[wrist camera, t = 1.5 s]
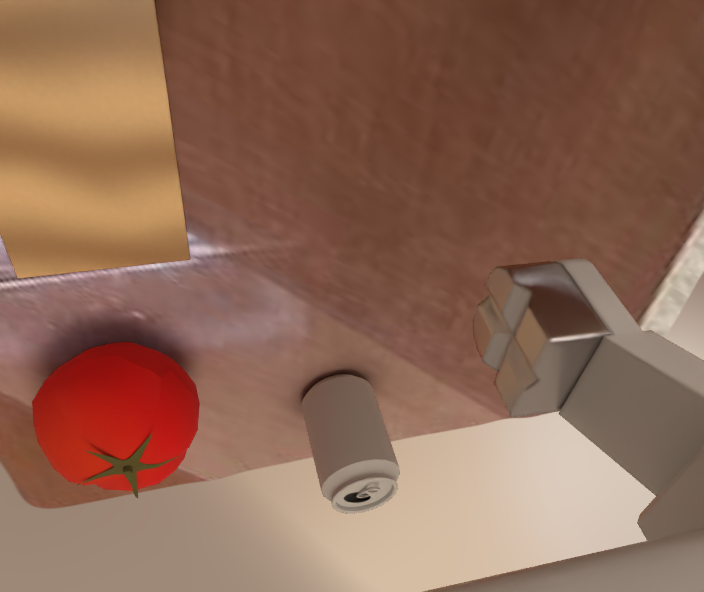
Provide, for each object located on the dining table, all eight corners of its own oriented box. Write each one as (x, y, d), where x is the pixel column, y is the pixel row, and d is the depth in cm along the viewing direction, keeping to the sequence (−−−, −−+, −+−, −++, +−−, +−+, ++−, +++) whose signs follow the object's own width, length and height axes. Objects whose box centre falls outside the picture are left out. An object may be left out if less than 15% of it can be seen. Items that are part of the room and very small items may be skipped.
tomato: (210, 391, 62) (223, 492, 55) (80, 426, 60) (75, 534, 53) (166, 298, 52) (174, 407, 45) (9, 337, 51) (-8, 455, 44)
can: (285, 406, 66) (309, 515, 58) (328, 361, 63) (359, 471, 55) (342, 419, 71) (371, 522, 63) (384, 378, 67) (421, 482, 59)
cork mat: (-99, -17, 32) (-101, -14, 32) (151, -21, 35) (152, -18, 35) (18, 274, 47) (17, 278, 46) (189, 255, 49) (190, 259, 49)
